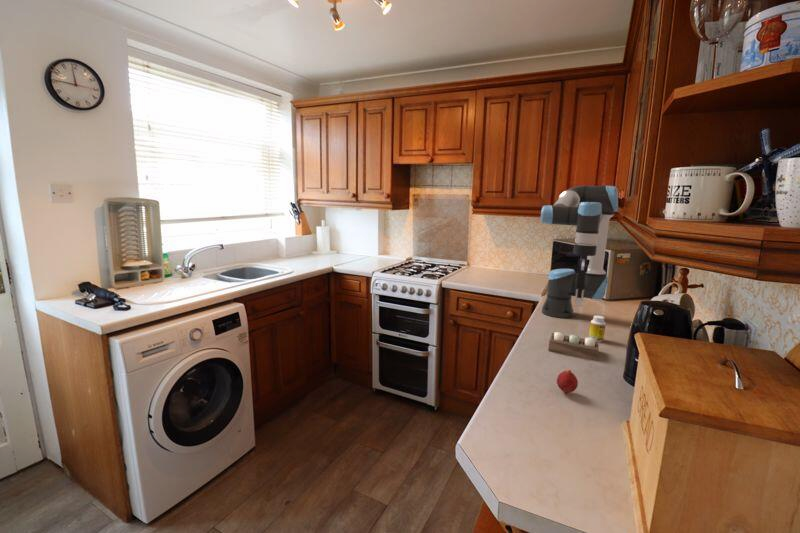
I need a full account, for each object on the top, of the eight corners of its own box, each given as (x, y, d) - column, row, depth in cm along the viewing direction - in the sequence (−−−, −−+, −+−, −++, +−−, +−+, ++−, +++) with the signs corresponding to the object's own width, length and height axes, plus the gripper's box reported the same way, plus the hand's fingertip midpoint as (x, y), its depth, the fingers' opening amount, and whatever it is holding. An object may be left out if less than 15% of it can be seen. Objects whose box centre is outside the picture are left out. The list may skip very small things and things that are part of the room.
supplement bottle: (598, 343, 156) (601, 319, 154) (585, 339, 161) (588, 316, 159) (606, 340, 159) (609, 317, 157) (593, 336, 164) (596, 314, 162)
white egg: (583, 349, 147) (585, 336, 146) (593, 351, 146) (595, 338, 145) (583, 352, 144) (585, 339, 143) (593, 354, 143) (595, 341, 142)
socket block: (551, 342, 156) (552, 333, 155) (597, 350, 148) (598, 341, 148) (548, 350, 147) (549, 341, 146) (597, 360, 140) (598, 350, 139)
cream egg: (553, 343, 152) (554, 331, 151) (563, 345, 151) (564, 333, 150) (552, 346, 149) (553, 334, 148) (562, 348, 148) (563, 335, 147)
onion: (551, 391, 116) (554, 367, 114) (562, 386, 119) (565, 363, 118) (569, 400, 111) (572, 375, 110) (580, 394, 115) (583, 370, 113)
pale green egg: (568, 346, 150) (569, 334, 149) (578, 348, 148) (579, 335, 147) (567, 349, 147) (569, 336, 146) (577, 351, 145) (579, 338, 144)
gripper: (575, 241, 147) (568, 299, 152) (573, 245, 136) (566, 308, 140) (596, 243, 144) (589, 302, 149) (596, 247, 133) (588, 311, 137)
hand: (578, 305), depth 145 cm, fingers closed
